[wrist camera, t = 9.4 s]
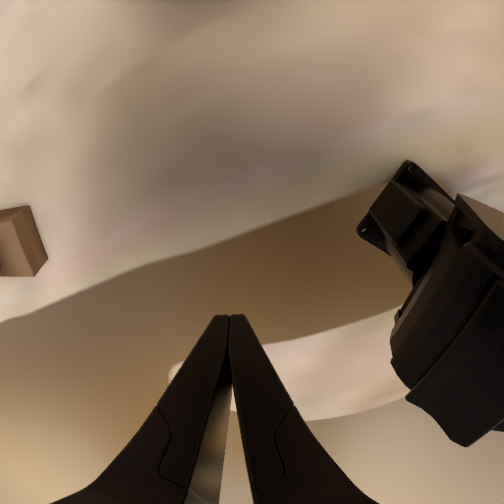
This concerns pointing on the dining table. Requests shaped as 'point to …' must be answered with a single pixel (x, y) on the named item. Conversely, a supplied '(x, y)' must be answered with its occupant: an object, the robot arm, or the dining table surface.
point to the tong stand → (20, 244)
